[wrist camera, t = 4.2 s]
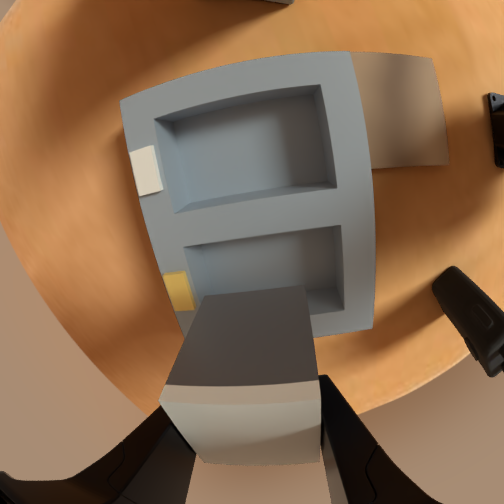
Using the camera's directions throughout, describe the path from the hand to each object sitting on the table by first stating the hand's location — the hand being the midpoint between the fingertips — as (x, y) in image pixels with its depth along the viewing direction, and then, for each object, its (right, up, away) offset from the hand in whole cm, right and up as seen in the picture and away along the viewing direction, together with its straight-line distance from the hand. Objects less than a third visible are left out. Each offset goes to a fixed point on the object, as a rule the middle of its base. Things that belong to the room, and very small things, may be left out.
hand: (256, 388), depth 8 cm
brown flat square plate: (+10, +14, +6) cm, 18 cm away
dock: (0, +8, +10) cm, 13 cm away
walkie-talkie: (+17, +1, +11) cm, 21 cm away
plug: (0, +1, +3) cm, 3 cm away
